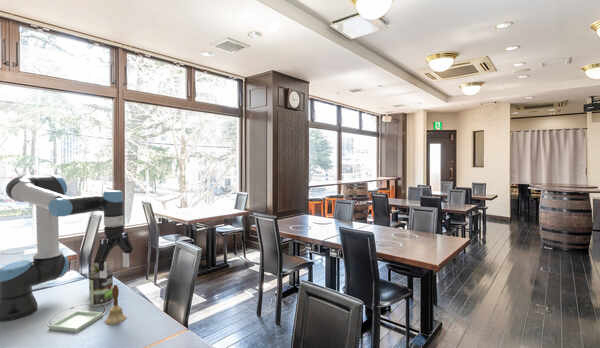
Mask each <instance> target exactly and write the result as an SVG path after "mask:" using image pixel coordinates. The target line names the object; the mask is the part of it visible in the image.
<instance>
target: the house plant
mask: <svg viewBox="0 0 600 348" xmlns="http://www.w3.org/2000/svg"><path fill="white" fill-rule="evenodd" d="M105 263H106V268H107V270H108V269H109V268H110V265H109V264H110V263H108V262H105ZM89 264H90V265H91V266H92V267H93V268H90V267H88V270H90V273H84V275H85V276H88V277H87V280H89V275H91V274H93V273H97V272H100V271H99V266H98V265H95V264H93V263H89ZM97 266H98V267H97ZM110 271H111V272H113V270H110Z"/></svg>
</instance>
